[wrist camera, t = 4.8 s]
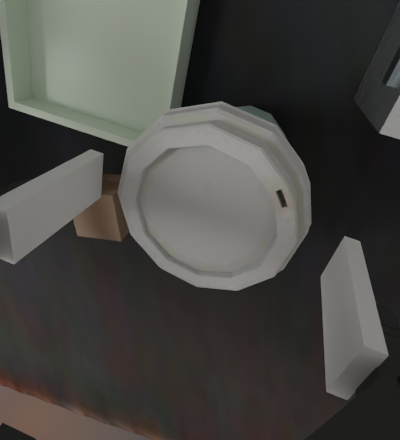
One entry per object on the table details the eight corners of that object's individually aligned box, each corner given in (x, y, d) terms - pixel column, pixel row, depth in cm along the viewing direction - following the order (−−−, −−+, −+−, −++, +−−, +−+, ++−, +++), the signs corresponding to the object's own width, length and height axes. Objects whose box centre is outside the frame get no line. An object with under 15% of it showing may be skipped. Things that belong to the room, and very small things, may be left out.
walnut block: (102, 213, 37) (77, 235, 33) (94, 172, 34) (65, 191, 30) (142, 217, 36) (121, 241, 31) (136, 175, 33) (112, 195, 29)
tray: (31, 101, 32) (8, 107, 30) (16, -108, 24) (-18, -124, 21) (173, 147, 30) (161, 157, 28) (211, -61, 22) (199, -74, 19)
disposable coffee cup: (216, 208, 32) (161, 317, 20) (167, 106, 29) (62, 162, 16) (324, 175, 28) (341, 290, 15) (283, 48, 24) (262, 64, 11)
